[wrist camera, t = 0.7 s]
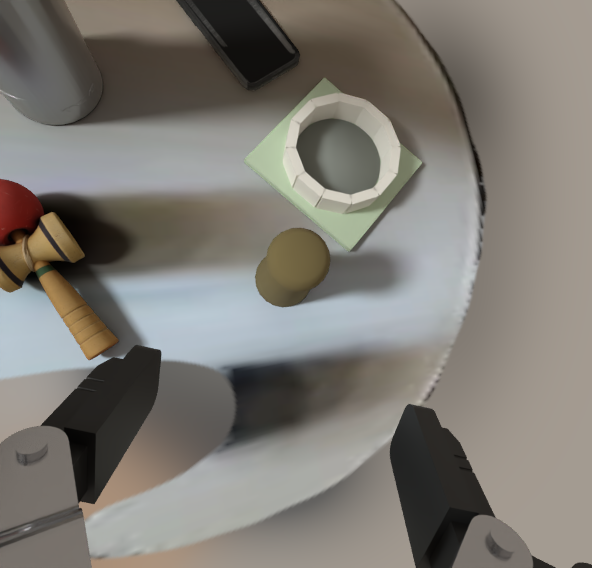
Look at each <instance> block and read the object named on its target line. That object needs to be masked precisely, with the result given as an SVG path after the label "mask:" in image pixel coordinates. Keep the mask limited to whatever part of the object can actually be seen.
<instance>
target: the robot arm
mask: <svg viewBox="0 0 592 568" xmlns="http://www.w3.org/2000/svg"><path fill="white" fill-rule="evenodd" d="M102 90H103V81H102V77H101V73H100V71H99V69H98V67H97V65H96V63H95V61H94V59H93V57H92V55H91V53H90V51H89V49H88V47H87V45H86V43H85V40H84V38H83V36H82V35H81V33H80V31H79V29H78V27H77V25H76V23H75V21H74V19H73V17H72V15H71V13H70V11H69V9H68V7H67V5H66V3H65V1H64V0H0V93H1V94H2V95H3V96H4V97H5V98H6V99H7V100H8V101H9V102H10V103H11V104H12V105H13V106H14V107H15V108H16V109H17V110H18V111H19V112H20V113H21V114H23V115H24V116H26V117H27V118H29V119H31V120H33V121H36V122H39V123H42V124H49V125H63V124H68V123H72V122H75V121H77V120H79V119H82V118H83V117H85V116H86V115H88V114H89V113H90V112H91V111H92V110H93V109H94V108H95V107H96V105H97V103H98V102H99V100H100V98H101V94H102ZM160 363H161V351H160V350H158V349H153V348H148V347H144V346H139V345H135V346H134V347H133V348H132V349H131V350H130V352H129V353H128V354H127V355H126V356H125V357H124V358H123V359H120V358H115V357H113V358H111V359H109V360H107V361H106V362H104V363H102V364H100V365H98V366H97V367H96V368H95V369H94V370H93V371H92V372H91V373H90V374H89V375H88V376H87V379H84V381H83V382H82V383H81V384H80V385H79V386H78V388H77V389H75V390H74V391H73V392H72V393H71V394H70V395H69V396H68V397H67V398H66V399H65V400H64V401H63V403H62V404H61V405H60V406H59V407H58V408H57V409H56V410H55V411H54V412H53V413H52V414H51V415H50V416H49V417H48V418H47V419H46V420H45V421H44V422H43V423H42V425H41V426H37V427H31V428H27V429H24V430H21V431H19V432H17V433H15V434H13V435H11V436H9V437H8V438H7V439H5V440H4V441H3V442H2V443H1V444H0V568H92V567H91V560H90V554H89V548H88V541H87V535H86V529H85V523H84V517H83V512H82V509H81V508H79V505H78V504H79V502H80V501H82V502H86V503H91V504H95V502H96V501H97V499H98V497H99V496H100V494H101V492H102V490H103V489H104V487H105V486H106V484H107V482H108V481H109V479H110V477H111V475H112V474H113V472H114V471H115V469H116V467H117V466H118V464H119V462H120V461H121V459H122V457H123V455H124V454H125V452H126V451H127V449H128V447H129V446H130V444H131V442H132V441H133V439H134V437H135V436H136V434H137V432H138V431H139V429H140V427H141V426H142V424H143V422H144V421H145V419H146V418H147V416H148V414H149V413H150V411H151V409H152V407H153V405H154V402H155V399H156V396H157V392H158V384H159V373H160ZM390 459H391V464H392V468H393V473H394V476H395V481H396V485H397V490H398V494H399V498H400V502H401V507H402V511H403V515H404V519H405V524H406V528H407V532H408V536H409V541H410V544H411V549H412V553H413V558H414V562H415V566H416V568H555V567H553V566H551V565H549V564H547V563H545V562H543V561H541V560H539V559H537V558H535V557H534V556H532V555H531V553H530V551H529V549H528V547H527V545H526V544H525V542H524V541H523V540H522V539H521V537H520V536H519V535H518V534H517V533H516V532H515V531H514V530H513V529H512V528H511V527H509V526H508V525H507V524H505V523H503V522H502V521H501V520H499V519H497V518H495V516H494V513H493V511H492V509H491V507H490V505H489V503H488V501H487V499H486V497H485V495H484V492H483V491H482V488H481V486H480V484H479V482H478V480H477V478H476V476H475V474H474V473H473V472H472V467H471V465H470V463H469V461H468V460H467V457H466V455H465V453H464V451H463V449H462V446H461V444H460V442H459V441H458V440H457V439H456V438H455V437H454V436H453V434H452V433H451V432H450V431H449V430H448V429H446V428H442V427H441V425H440V422H439V420H438V418H437V416H436V413H435V411H434V410H432V409H430V408H425V407H421V406H416V405H411V404H408V405H407V406H406V408H405V410H404V412H403V414H402V417H401V419H400V422H399V424H398V426H397V429H396V431H395V434H394V436H393V438H392V441H391V446H390ZM572 568H592V565H591V564H588V563H577V564H575V565H574V566H573V567H572Z"/></svg>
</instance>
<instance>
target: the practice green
mask: <svg viewBox="0 0 592 568" xmlns="http://www.w3.org/2000/svg"><path fill="white" fill-rule="evenodd" d="M388 120H389V119H388V118H387V117H386V116H385V115H384V114H383V113H382V112H380V111H379V110H378V109H377V108H376V107H375V106H374V105H372V104H371V103H370V102H369V101H367V102H366V99H362V98H358V97H354V96H350V95H347V94H343V93H342V92H341V91H340V90H339V89H337V88H336V87H335V86H334V85H333V84H332V83H331V82H329V81H328V80H327V79H326V78H325V77H324V78H323V79H322V80H321V81H320V82H319V83H318V84H317V85H316V86H315V88H314V89H313V90H312V91H311V92H310V93H309V94H308V95H307V96H306V97H305V98H304V99H303V100H302V101H301V102H300V103H299V104H298V105H297V106H296V107H295V108H294V109H293V110H292V111H291V112H290V113H289V114H288V115H287V116H286V117H285V118H284V119H283V120H282V121H281V122H280V123H279V124H278V125H277V126H276V127H275V128H274V129H273V130H272V131H271V133H270V134H269V135H268V136H267V137H266V138H265V139H264V140H263V141H262V142H261V143H260V144H259V145H258V146H257V147H256V148H255V149H254V150H253V151H252V152H251V153H250V154H249V155H248V156H247V157H246V158H245V159H244V163H245V164H247V165H248V166H249V167H250V168H251V169H252V170H254V171H255V172H256V173H257V174H258V175H259V176H261V177H262V178H263V179H264V180H265V181H266V182H268V183H269V184H270V185H271V186H272V187H273V188H275V189H276V190H277V191H278V192H279V193H280V194H282V195H283V196H284V197H285V198H286V199H287V200H289V201H290V202H291V203H292V204H293V205H294V206H296V207H297V208H298V209H299V210H300V211H301V212H303V213H304V214H305V215H306V216H307V217H308V218H310V219H311V220H312V221H313V222H314V223H315V224H317V225H318V226H319V227H320V228H321V229H322V230H324V231H325V232H326V233H327V234H328V235H329V236H331V237H332V238H333V239H334V240H335V241H336V242H338V243H339V244H340V245H341V246H342V247H343V248H345V249H346V250H347V251H348V252H349V251H350V250H351V249H352V248H353V247H354V246H355V244H356V243H357V242H358V241H359V240H360V238H361V237H362V236H363V235H364V233H365V232H366V231H367V230H368V229H369V227H370V226H371V225H372V224H373V223H374V221H375V220H376V219H377V218H378V216H379V215H380V214H381V213H382V212H383V210H384V209H385V208H386V207H387V205H388V204H389V203H390V202H391V201H392V199H393V198H394V197H395V196H396V194H397V193H398V192H399V191H400V190H401V188H402V187H403V186H404V185H405V183H406V182H407V181H408V180H409V179H410V177H411V176H412V175H413V174H414V172H415V171H416V170H417V169H418V168H419V166H420V165H421V164H422V162H421V161H420V160H419V159H418V158H417V157H416V156H414V155H413V154H412V153H411V152H410V151H409V150H408V149H406V148H405V147H404V146H403V145H402V144H401V143H400V142H399V141H398V138H397V136H396V133H395V131H394V129H393V126H392V124H391V121H388Z"/></svg>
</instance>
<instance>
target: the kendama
mask: <svg viewBox="0 0 592 568" xmlns="http://www.w3.org/2000/svg"><path fill="white" fill-rule="evenodd" d="M83 257H85V255H84V253H83V251H82V250H81V248H80V247H79V245H78V244H77V242H76V241H75V239H74V238H73V236H72V235H71V233H70V232H69V230H68V229H67V228H66V226H65V225H64V224H63V222H62V221H61V220H60V218H59V217H58V216H57V214H56V213H54V212H51V213H49V214H46V215H44V211H43V207H42V205H41V203H40V201H39V200H38V198H37V197H36V196H35V195H34V194H33V193H32V192H31V191H30V190H28V189H27V188H25V187H24V186H22V185H20V184H18V183H15V182H12V181H9V180H3V179H0V287H1V288H2V289H3V290H5V291H7V292H13V291H15V290H18V289H20V288H22V285H23V283H24V280H25V278H26V277H27V275H28V274H29V273H30V272H31V271H33V272H35V273H36V274H37V276H38V279H39V280H40V282H41V284H42V286H43V288H44V290H45V292H46V293H47V295H48V297H49V299H50V300H51V302H52V304H53V305H54V307H55V309H56V310H57V312H58V313H59V315H60V316H61V318H63V321H64V322H65V324H66V326H67V327H68V328H69V330H70V332H71V333H72V335H73V336H74V338H75V339H76V341H77V343H78V344H79V345H80V348H81V349H82V351H83V353H84V354H85V356H86V358H87V359H88V360H91V359H93V358H95V357H97V356H98V355H100V354H101V353H103V352H104V351H106V350H108V349H109V348H111V347H112V346H114V345H115V344H116V343H118V341H119V340H118V339H117V338H116V336H115V335H114V334H113V333H112V332H111V331H110V330H109V329H107V327H106V325H105V324H104V323H103V322H102V321H101V320H100V319H99V317H98V316H97V315H96V314H95V313H94V311H93V310H92V309H91V308H90V307H89V306H88V305H87V303H86V302H85V301H84V299H83V298H82V297H81V296H80V295H79V293H78V292H77V291H76V290H75V289H74V288H73V287H72V286H71V285H70V284H69V283H68V282H67V281H66V279H64V278H63V276H62V275H60V273H58V272H57V270H56V269H55V268H53V267H52V266H51V264H50V263H49V262H51V261H68V262H73V263H75V262H76V261H78V260H80V259H82V258H83Z"/></svg>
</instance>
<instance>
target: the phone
mask: <svg viewBox="0 0 592 568" xmlns="http://www.w3.org/2000/svg"><path fill="white" fill-rule="evenodd" d="M177 2H178V3H179V4H180V6H181V7H182V8H183V9H184V11H185V12H186V14H187V15H188V16H189V17H190V18H191V20H192V22H193V23H194V24H195V25H196V26H197V27H198V29H199V30H200V31H201V32H202V34H203V35H204V36H205V38H206V39H207V40H208V41H209V43H210V44H211V45H212V47H213V48H214V49H215V50H216V52H217V53H218V54H219V55H220V57H221V58H222V59H223V61H224V62H225V63H226V64H227V66H228V67H229V68H230V70H231V71H232V72H233V73H234V75H235V76H236V77H237V79H238V80H239V81H240V82H241V84H242V85H243V86H244V87H245V88H246V89H248V90H257V89H259V88H260V87H262V86H264V85H265V84H267V83H269V82H270V81H272V80H274V79H275V78H277V77H279V76H280V75H282V74H284V73H285V72H287V71H289V70H290V69H292V68H294V67H295V66H296V65H297V64H298V62H299V57H300V54H299V51H298V49H297V48H296V47H295V46H294V44H293V43H292V42H291V40H290V39H289V38H288V37H287V35H286V34H285V33H284V32H283V30H282V29H281V28H280V27H279V25H278V24H277V23H276V21H275V20H274V19H273V18H272V16H271V15H270V14H269V13H268V11H267V10H266V9H265V7H264V6H263V5H262V4H261V2H260V1H259V0H177ZM276 75H277V76H276ZM273 77H274V78H273ZM262 84H263V85H262Z"/></svg>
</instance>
